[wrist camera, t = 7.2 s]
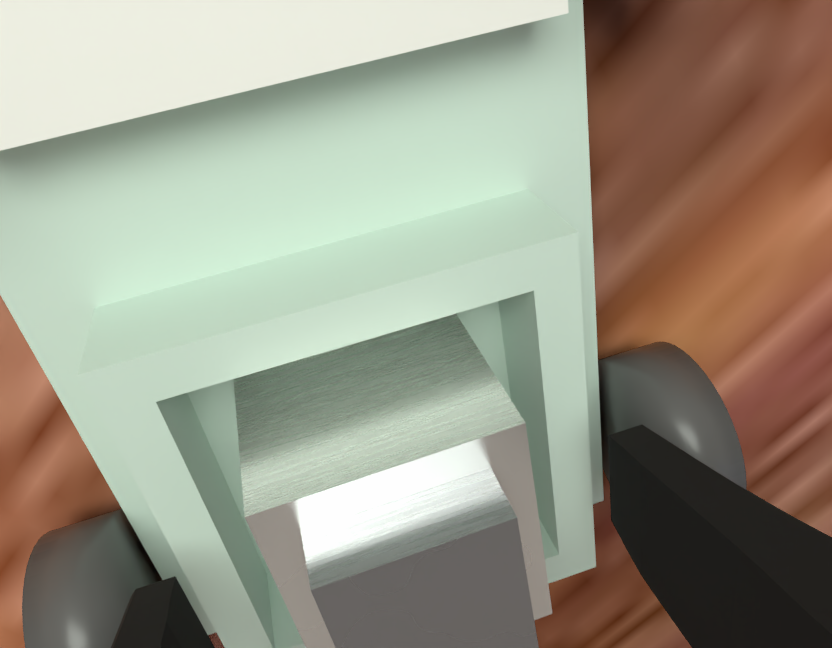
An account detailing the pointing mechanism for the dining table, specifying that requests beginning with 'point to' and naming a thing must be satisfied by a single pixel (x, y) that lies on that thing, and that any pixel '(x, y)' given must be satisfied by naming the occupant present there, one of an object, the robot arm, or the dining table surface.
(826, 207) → the dining table surface
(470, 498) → the grey boxy piece
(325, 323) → the chassis
